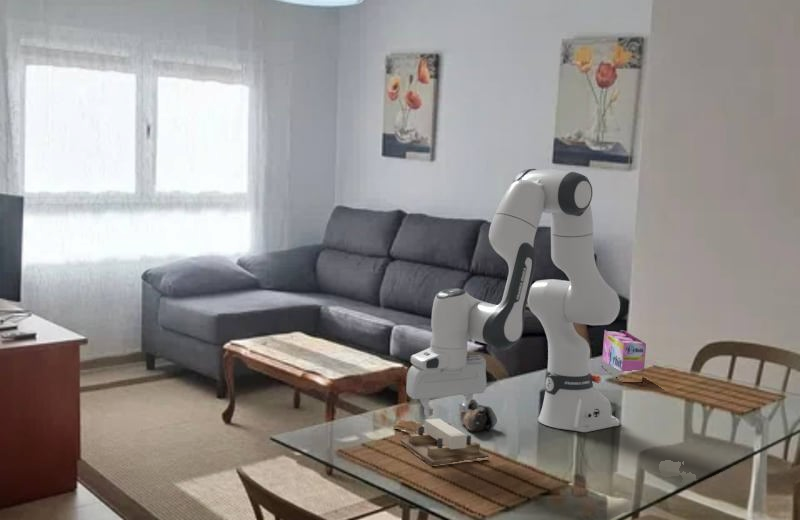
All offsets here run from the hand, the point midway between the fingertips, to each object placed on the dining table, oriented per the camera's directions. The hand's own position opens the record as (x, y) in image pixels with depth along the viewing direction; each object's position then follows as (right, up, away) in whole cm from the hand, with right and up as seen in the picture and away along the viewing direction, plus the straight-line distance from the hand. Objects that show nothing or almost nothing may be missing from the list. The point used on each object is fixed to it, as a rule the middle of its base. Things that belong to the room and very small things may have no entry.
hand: (446, 413), depth 210 cm
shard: (-7, -8, +17) cm, 20 cm away
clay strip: (0, -6, 0) cm, 6 cm away
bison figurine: (+8, -8, +21) cm, 24 cm away
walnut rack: (-1, -9, +1) cm, 9 cm away
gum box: (+65, -3, +92) cm, 112 cm away
